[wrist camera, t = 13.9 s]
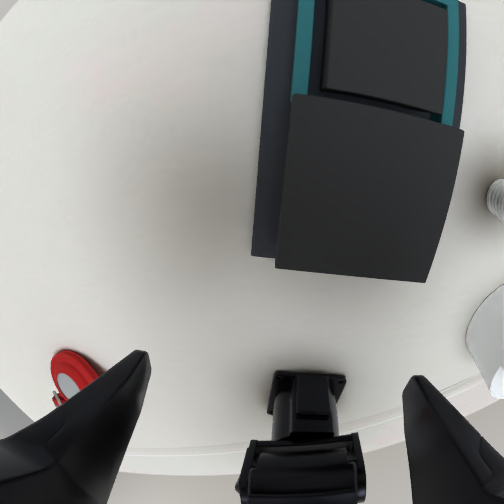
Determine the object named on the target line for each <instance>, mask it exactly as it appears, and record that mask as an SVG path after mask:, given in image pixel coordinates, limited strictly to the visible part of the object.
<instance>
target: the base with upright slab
mask: <svg viewBox="0 0 504 504" xmlns="http://www.w3.org/2000/svg"><path fill="white" fill-rule="evenodd" d="M466 345H467V347H468V349H469V351H470V353H471V355H472V357H473V359H474V361H475V363H476V364H477V366H478V368H479V370H480V372H481V374H482V376H483V378H484V380H485V382H486V384H487V386H488V389H489V391H490V393H491V395H492V396H493V397H495V398H500V399H503V398H504V285H502V286H500V287H499V288H497V289H496V290H495V291H494V292H493V293H491V294H490V295H489V296H488V297H487V298H486V299H485V301H484V302H483V303H482V304H481V305H480V306H479V308H478V309H477V311H476V312H475V314H474V315H473V317H472V319H471V321H470V323H469V325H468V329H467V333H466Z"/></svg>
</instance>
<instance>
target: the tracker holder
mask: <svg viewBox="0 0 504 504" xmlns="http://www.w3.org/2000/svg"><path fill="white" fill-rule="evenodd" d="M51 374H52V378H53V381H54V383H55V385H56V387H57V389H58V391H59V393H58V394H57V393H56V392H55V391H53V394H54V397H53V398H52V400H53V402H54V405H55V406H56V407H59V406H60V405H61V404H64V402H66V401H67V400H68V399H70V398H71V397H72V396H74V395H75V394H76V393H78V392H79V391H80V390H82V389H83V388H85V387H86V386H87V385H89V384H90V383H91V382H93V381H94V380H95V379H97V378H98V377H99V376H98V375H97V373H96V372H95V371H94V369H93V368H92V367H91V366H90V365H89V364H88V362H87V361H86V360H85V359H84V358H83V357H81V356H80V355H78V354H77V353H75V352H72V351H68V350H64V351H61V352H59V353H58V354H56V355H54V357H53V358H52V360H51Z"/></svg>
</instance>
